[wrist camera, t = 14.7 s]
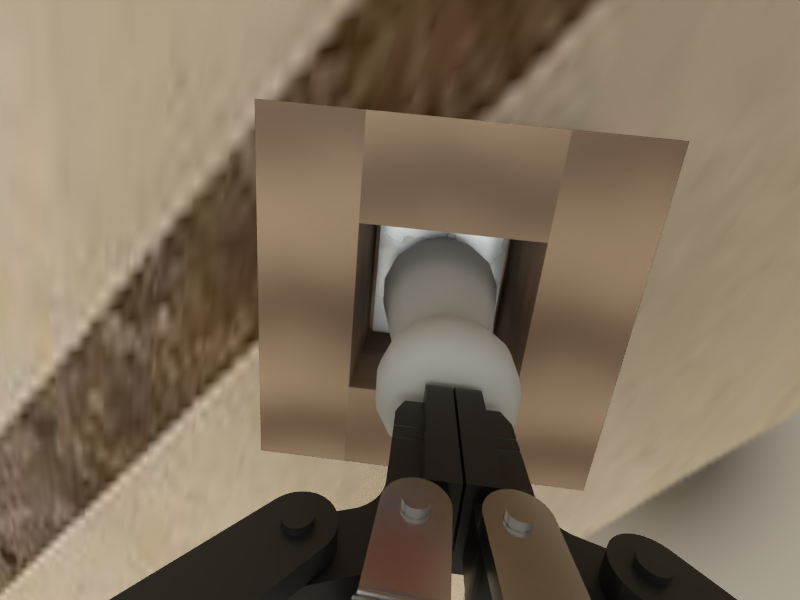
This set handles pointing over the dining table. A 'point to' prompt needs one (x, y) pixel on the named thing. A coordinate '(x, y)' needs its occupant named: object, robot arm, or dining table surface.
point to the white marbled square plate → (404, 238)
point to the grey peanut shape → (443, 330)
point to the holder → (454, 213)
